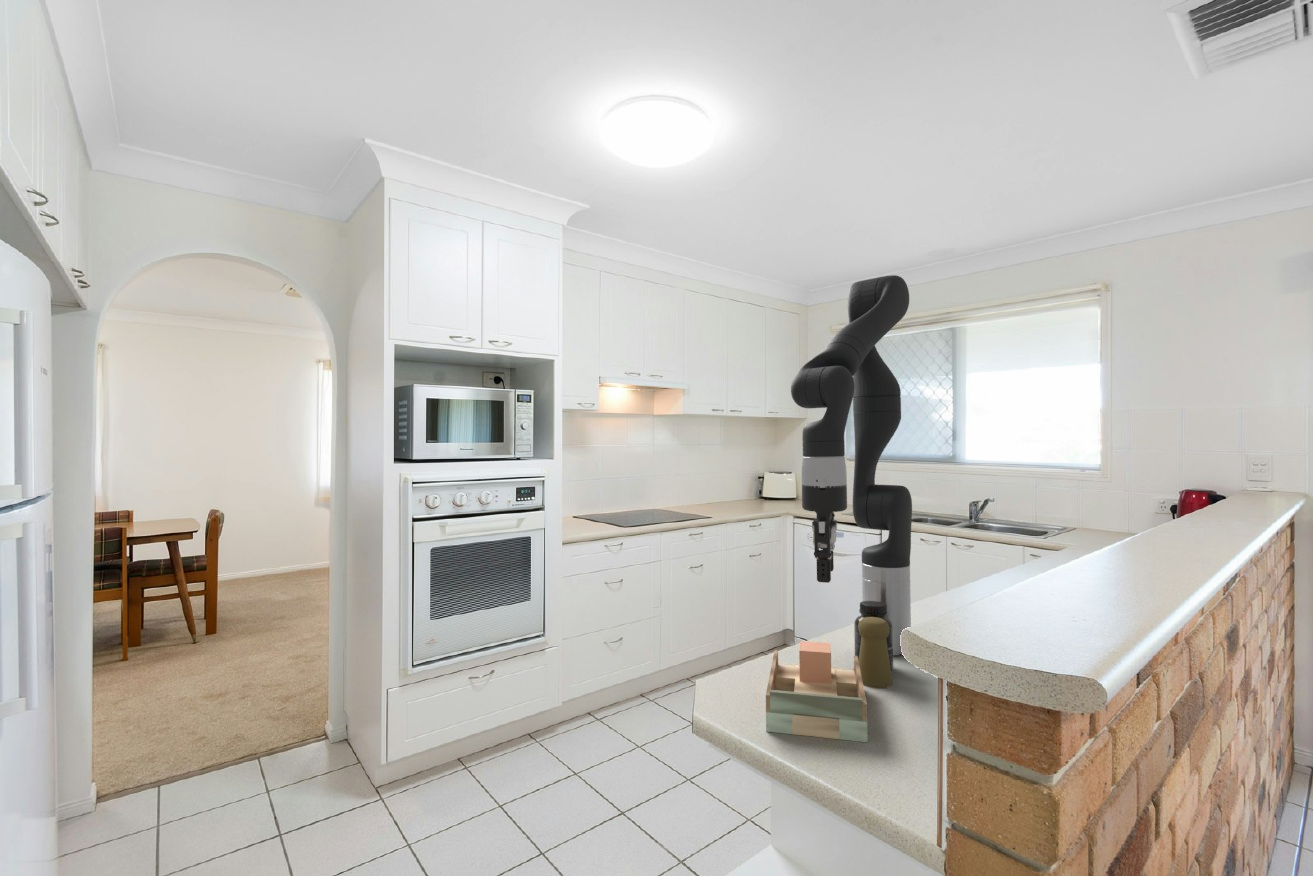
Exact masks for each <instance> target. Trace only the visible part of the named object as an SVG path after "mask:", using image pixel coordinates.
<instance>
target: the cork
mask: <svg viewBox="0 0 1313 876" xmlns="http://www.w3.org/2000/svg"><path fill="white" fill-rule="evenodd" d="M858 630H859V633H860V635H861V636H862V638H861V646H860V654H859V667H860V672H861V677H862V682H863V686H864V687H869V688H872V689H873V688H875V689H883V688H884V689H886V688H889V687H890V688H891V686H893V683H894V682H893V677H892V675H893V674H892V671H891V668H890V661H889V655H888V648H887V641H886V638H887V637H888V635H889V625H888V623H887V621H885V620H884V619H881V618H877V617H865V618H862V619H861V620H860V621H859V624H858Z"/></svg>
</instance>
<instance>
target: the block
mask: <svg viewBox="0 0 1313 876" xmlns="http://www.w3.org/2000/svg"><path fill="white" fill-rule="evenodd" d="M831 646H832V645H831V643H830V642H820V641H818V642H817V641H803V640H800V641H799V648H798V649H799V651H798V653H799V658H798V659H799V660H798V661H799V665H800V681H803V682H814V683H826V684H831V668H832V648H831Z"/></svg>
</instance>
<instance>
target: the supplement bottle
mask: <svg viewBox="0 0 1313 876" xmlns="http://www.w3.org/2000/svg"><path fill="white" fill-rule="evenodd" d="M858 611H859V614H860V615H859V616H857V617H856V618H855V619H854V622H853V623H854V626H853V628H854V629H853V630H854V631H853V632H854V634H853V635H854V656H858V661H859V654H860V646H861V638H862V636H861V635H860V633H859V630H858V624H859V621H860V620H861V619H862V618H865V617H877V618H881V619H884V620H885V621H887V623H888V625H889V635H888V637H887V638H886V641H887V648H888V655H889V661H890V668H891V672H892V671H893V669H894V655H893V624H892V622H891V621H890V620H889V619H888V618H886V616H887V615H888V613H887V604H885V603H882V602H877V601H861V602H859V610H858Z"/></svg>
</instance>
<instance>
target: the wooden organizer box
mask: <svg viewBox="0 0 1313 876" xmlns="http://www.w3.org/2000/svg"><path fill="white" fill-rule="evenodd" d="M864 687H865V686H864V685H863V682H862V677H861V672H860V667H859V661H858V656H855V655H853V670H852V669H840V668H839V669H838V668H835V667H831V684H826V683H814V682H803V681H800V664H796V665H788V664H779V650H778V649H774V652H773V657H772V662H771V666H770V671H769V677H768V681H767V686H766V692H765V720H766V721H765V732H768V733H778V734H785V735H797V736H805V737H813V738H814V737H815V738H816V737H817V738H825V739H833V740H834V739H835V740H843V741H853V742H862V743H863V742H864V743H867V742H868V703H867V702H868V701H867V697H866V693H865V688H864Z"/></svg>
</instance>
